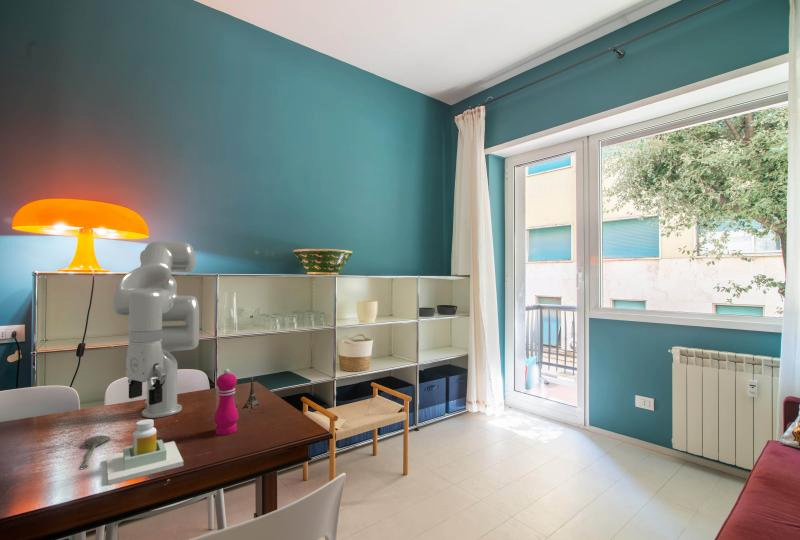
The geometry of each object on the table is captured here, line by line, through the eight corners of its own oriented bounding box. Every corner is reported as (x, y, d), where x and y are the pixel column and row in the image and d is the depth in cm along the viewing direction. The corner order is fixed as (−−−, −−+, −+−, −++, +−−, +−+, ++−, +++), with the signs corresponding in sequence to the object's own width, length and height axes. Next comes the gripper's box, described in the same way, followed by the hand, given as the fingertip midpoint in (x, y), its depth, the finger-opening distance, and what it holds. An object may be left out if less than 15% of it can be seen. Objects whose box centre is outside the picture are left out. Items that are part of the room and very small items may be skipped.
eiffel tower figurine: (235, 405, 155) (235, 370, 156) (262, 401, 160) (263, 368, 160) (236, 417, 142) (236, 380, 142) (266, 413, 146) (266, 377, 146)
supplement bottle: (161, 455, 108) (161, 419, 108) (142, 464, 103) (143, 426, 103) (146, 452, 110) (146, 417, 110) (127, 461, 105) (127, 424, 105)
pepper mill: (229, 436, 124) (229, 372, 124) (208, 434, 125) (209, 371, 125) (243, 427, 131) (243, 366, 131) (223, 426, 132) (223, 365, 132)
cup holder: (108, 485, 95) (108, 469, 95) (106, 460, 108) (106, 446, 108) (183, 465, 105) (183, 451, 105) (174, 445, 117) (174, 432, 117)
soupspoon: (113, 440, 124) (86, 445, 121) (112, 429, 124) (86, 434, 121) (99, 467, 104) (67, 474, 101) (98, 454, 104) (66, 461, 101)
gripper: (113, 335, 108) (113, 398, 108) (149, 342, 99) (148, 410, 99) (142, 331, 114) (142, 391, 114) (178, 337, 106) (178, 401, 106)
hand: (145, 400), depth 107 cm, fingers open, 9 cm apart
